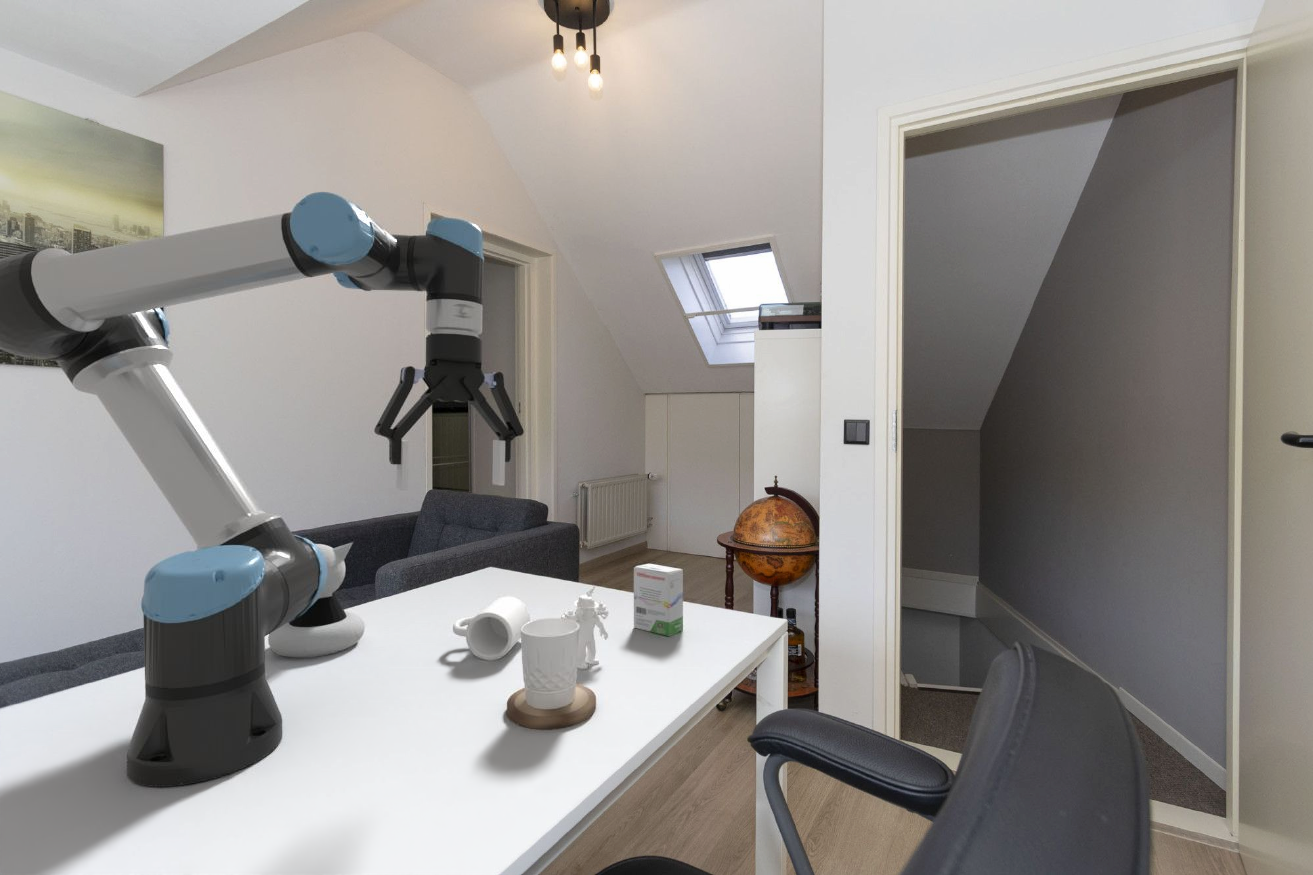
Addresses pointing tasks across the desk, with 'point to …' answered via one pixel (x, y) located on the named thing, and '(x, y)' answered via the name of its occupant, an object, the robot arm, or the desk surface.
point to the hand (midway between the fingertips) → (452, 487)
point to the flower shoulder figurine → (587, 627)
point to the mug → (494, 628)
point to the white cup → (550, 662)
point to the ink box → (658, 599)
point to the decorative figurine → (321, 618)
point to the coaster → (551, 711)
